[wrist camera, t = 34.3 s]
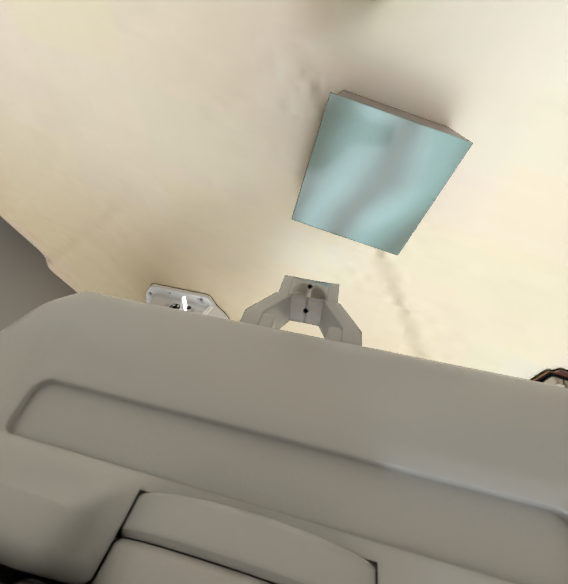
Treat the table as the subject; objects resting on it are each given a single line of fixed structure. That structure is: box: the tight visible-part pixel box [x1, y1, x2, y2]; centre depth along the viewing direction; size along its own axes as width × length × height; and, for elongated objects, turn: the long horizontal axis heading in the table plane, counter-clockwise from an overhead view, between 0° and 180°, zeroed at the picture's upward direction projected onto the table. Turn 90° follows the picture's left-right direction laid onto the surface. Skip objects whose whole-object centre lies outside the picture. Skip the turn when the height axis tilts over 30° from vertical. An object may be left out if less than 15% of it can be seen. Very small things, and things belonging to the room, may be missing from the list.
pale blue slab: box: [292, 92, 473, 255], centre depth 31 cm, size 15×14×1 cm
